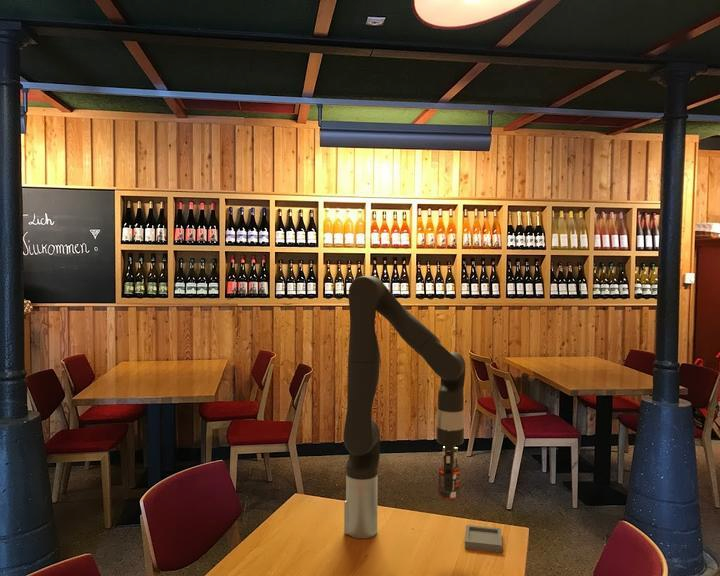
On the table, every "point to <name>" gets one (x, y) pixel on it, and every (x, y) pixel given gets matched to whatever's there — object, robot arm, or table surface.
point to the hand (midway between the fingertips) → (449, 484)
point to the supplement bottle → (455, 492)
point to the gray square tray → (483, 538)
